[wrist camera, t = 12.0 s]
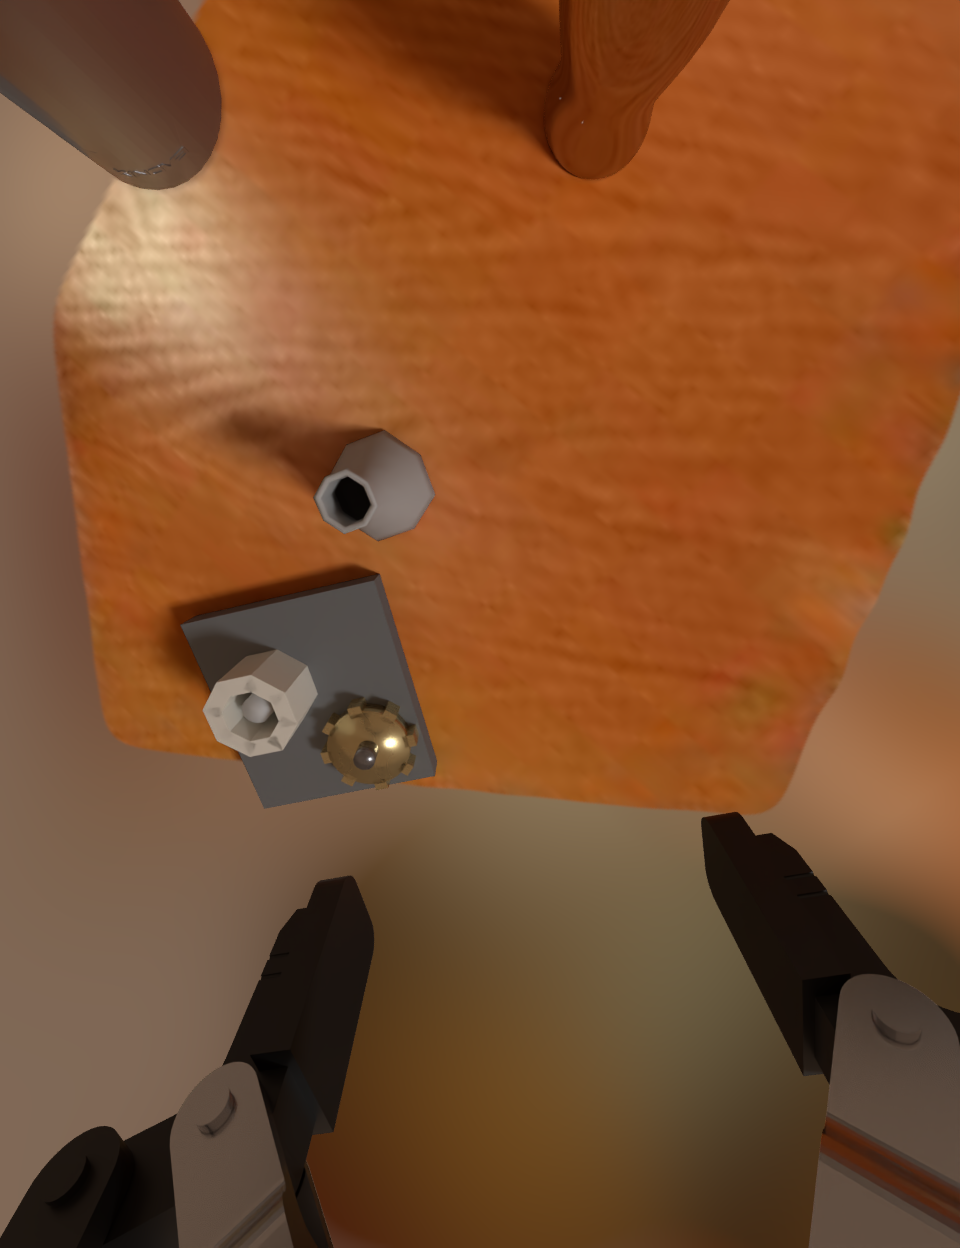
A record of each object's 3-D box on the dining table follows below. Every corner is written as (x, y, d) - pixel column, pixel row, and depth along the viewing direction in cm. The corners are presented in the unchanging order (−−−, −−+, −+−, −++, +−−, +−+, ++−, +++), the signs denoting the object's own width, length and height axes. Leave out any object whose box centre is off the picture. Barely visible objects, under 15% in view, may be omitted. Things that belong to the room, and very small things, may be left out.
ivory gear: (224, 660, 38) (192, 687, 34) (299, 644, 38) (275, 669, 34) (253, 728, 40) (226, 761, 36) (325, 713, 40) (306, 745, 35)
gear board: (195, 616, 39) (151, 642, 34) (379, 573, 38) (362, 594, 33) (273, 793, 45) (245, 838, 39) (436, 761, 43) (430, 804, 38)
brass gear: (312, 707, 40) (299, 727, 37) (404, 688, 39) (398, 707, 36) (342, 785, 42) (332, 810, 39) (429, 768, 41) (425, 792, 38)
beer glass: (572, 6, 27) (665, -465, 13) (681, 77, 28) (878, -294, 14) (515, 152, 29) (542, -120, 15) (618, 213, 30) (734, 10, 16)
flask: (310, 478, 36) (247, 489, 26) (386, 410, 34) (349, 396, 25) (377, 557, 38) (342, 594, 28) (453, 496, 36) (442, 514, 27)
